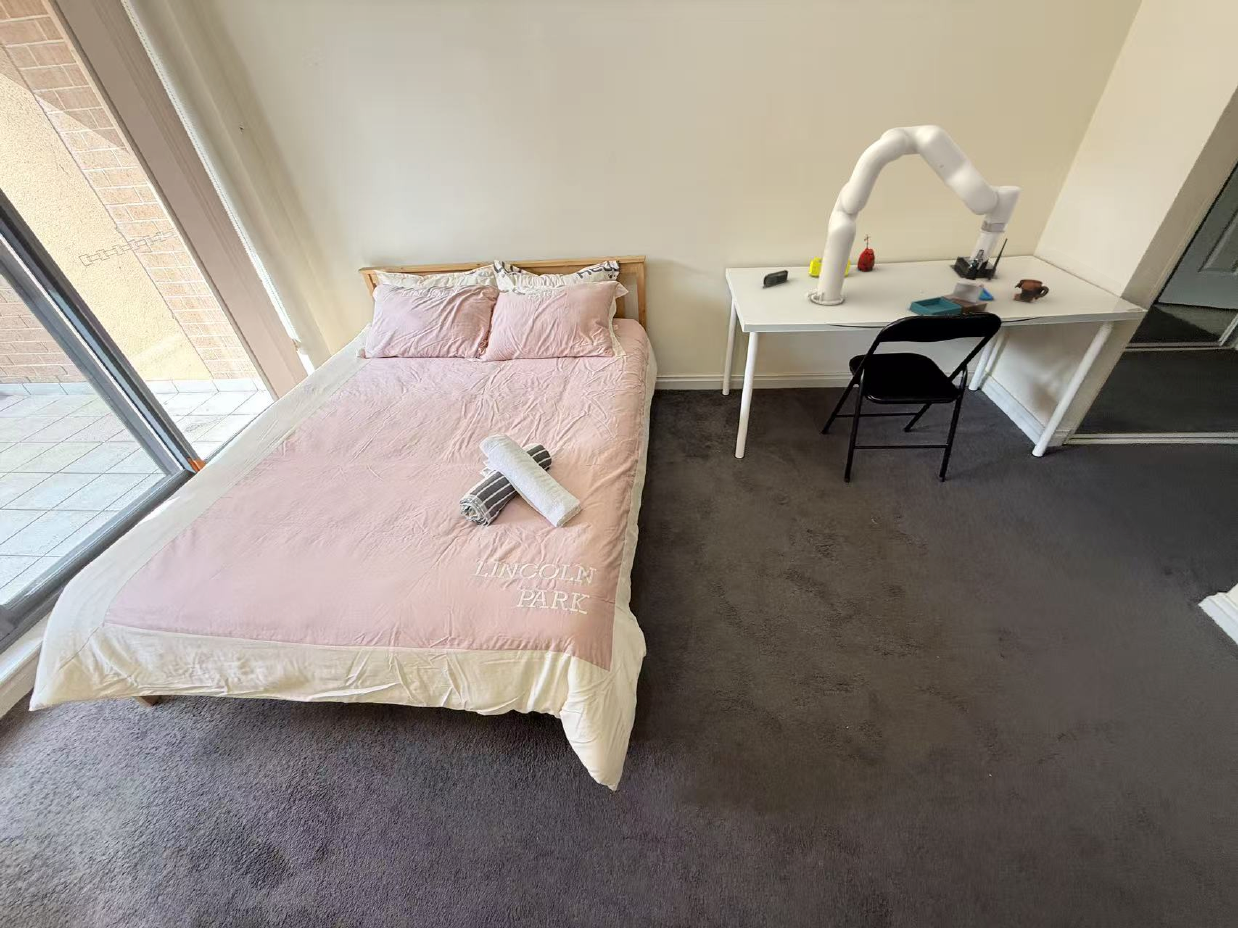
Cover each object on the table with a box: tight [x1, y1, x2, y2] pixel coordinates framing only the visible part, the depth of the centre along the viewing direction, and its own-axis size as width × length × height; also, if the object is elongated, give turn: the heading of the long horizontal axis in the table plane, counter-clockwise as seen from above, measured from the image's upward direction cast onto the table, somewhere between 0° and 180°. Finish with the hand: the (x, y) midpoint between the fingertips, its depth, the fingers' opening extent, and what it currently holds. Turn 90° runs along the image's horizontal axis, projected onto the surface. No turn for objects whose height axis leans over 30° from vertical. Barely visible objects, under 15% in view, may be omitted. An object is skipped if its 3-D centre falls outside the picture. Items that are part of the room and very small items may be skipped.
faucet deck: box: [940, 292, 988, 315], centre depth 190 cm, size 13×13×3 cm
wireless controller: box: [950, 237, 1008, 281], centre depth 211 cm, size 20×14×17 cm
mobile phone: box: [762, 269, 789, 289], centre depth 218 cm, size 5×3×15 cm
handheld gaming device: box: [979, 287, 995, 301], centre depth 200 cm, size 8×1×15 cm
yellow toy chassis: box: [808, 257, 852, 278], centre depth 221 cm, size 16×6×8 cm, turn 83°
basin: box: [908, 296, 963, 316], centre depth 188 cm, size 13×11×3 cm
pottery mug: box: [1013, 278, 1050, 303], centre depth 192 cm, size 12×10×8 cm
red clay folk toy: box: [856, 234, 876, 273], centre depth 222 cm, size 8×7×15 cm
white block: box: [951, 280, 985, 303], centre depth 187 cm, size 8×3×6 cm, turn 45°
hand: (974, 275), depth 183 cm, fingers open, 9 cm apart
